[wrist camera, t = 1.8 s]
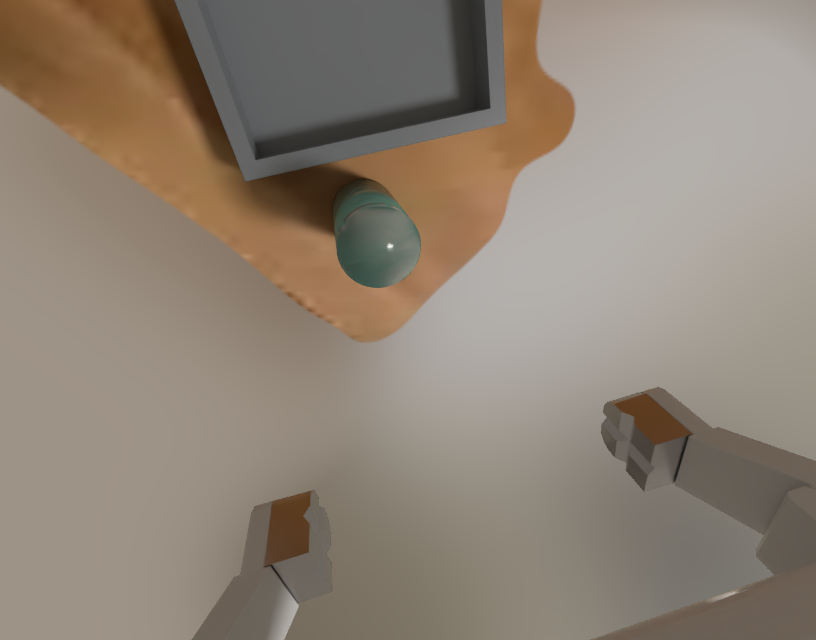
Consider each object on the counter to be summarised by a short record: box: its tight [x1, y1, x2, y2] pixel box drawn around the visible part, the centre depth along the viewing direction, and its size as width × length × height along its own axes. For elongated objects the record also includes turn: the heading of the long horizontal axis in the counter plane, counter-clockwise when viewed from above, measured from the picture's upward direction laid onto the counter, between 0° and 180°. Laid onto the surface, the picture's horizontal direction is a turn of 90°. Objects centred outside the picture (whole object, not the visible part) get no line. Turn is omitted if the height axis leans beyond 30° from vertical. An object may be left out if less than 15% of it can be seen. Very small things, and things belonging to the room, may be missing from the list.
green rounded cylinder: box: [332, 179, 421, 288], centre depth 29 cm, size 6×6×10 cm
